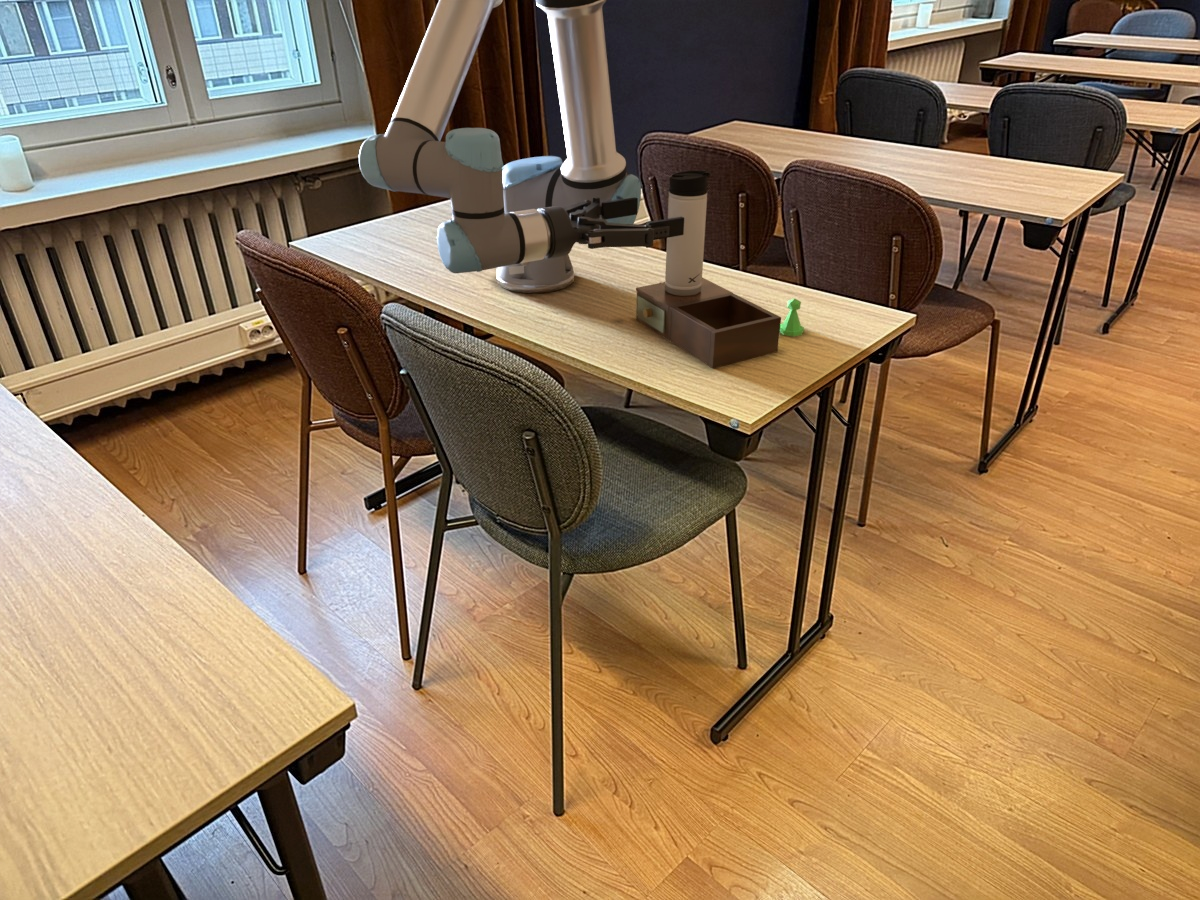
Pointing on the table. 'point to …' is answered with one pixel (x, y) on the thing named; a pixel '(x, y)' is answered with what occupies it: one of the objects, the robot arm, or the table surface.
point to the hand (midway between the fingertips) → (658, 215)
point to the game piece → (792, 320)
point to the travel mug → (687, 232)
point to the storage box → (709, 323)
